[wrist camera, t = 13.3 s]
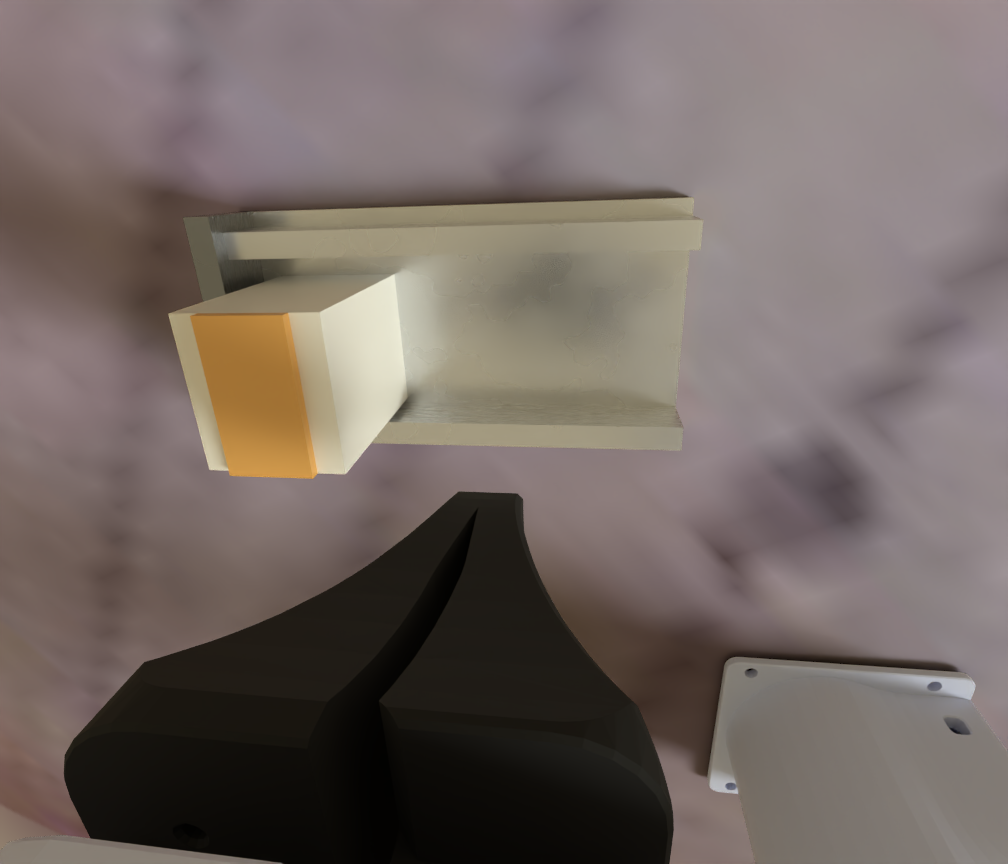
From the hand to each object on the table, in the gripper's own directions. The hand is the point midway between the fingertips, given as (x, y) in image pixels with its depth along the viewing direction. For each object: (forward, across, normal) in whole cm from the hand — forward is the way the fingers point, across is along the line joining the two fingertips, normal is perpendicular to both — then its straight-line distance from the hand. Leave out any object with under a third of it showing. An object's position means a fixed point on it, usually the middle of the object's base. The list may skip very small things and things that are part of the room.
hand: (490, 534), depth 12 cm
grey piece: (+10, +2, -2) cm, 10 cm away
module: (+9, +6, -2) cm, 11 cm away
